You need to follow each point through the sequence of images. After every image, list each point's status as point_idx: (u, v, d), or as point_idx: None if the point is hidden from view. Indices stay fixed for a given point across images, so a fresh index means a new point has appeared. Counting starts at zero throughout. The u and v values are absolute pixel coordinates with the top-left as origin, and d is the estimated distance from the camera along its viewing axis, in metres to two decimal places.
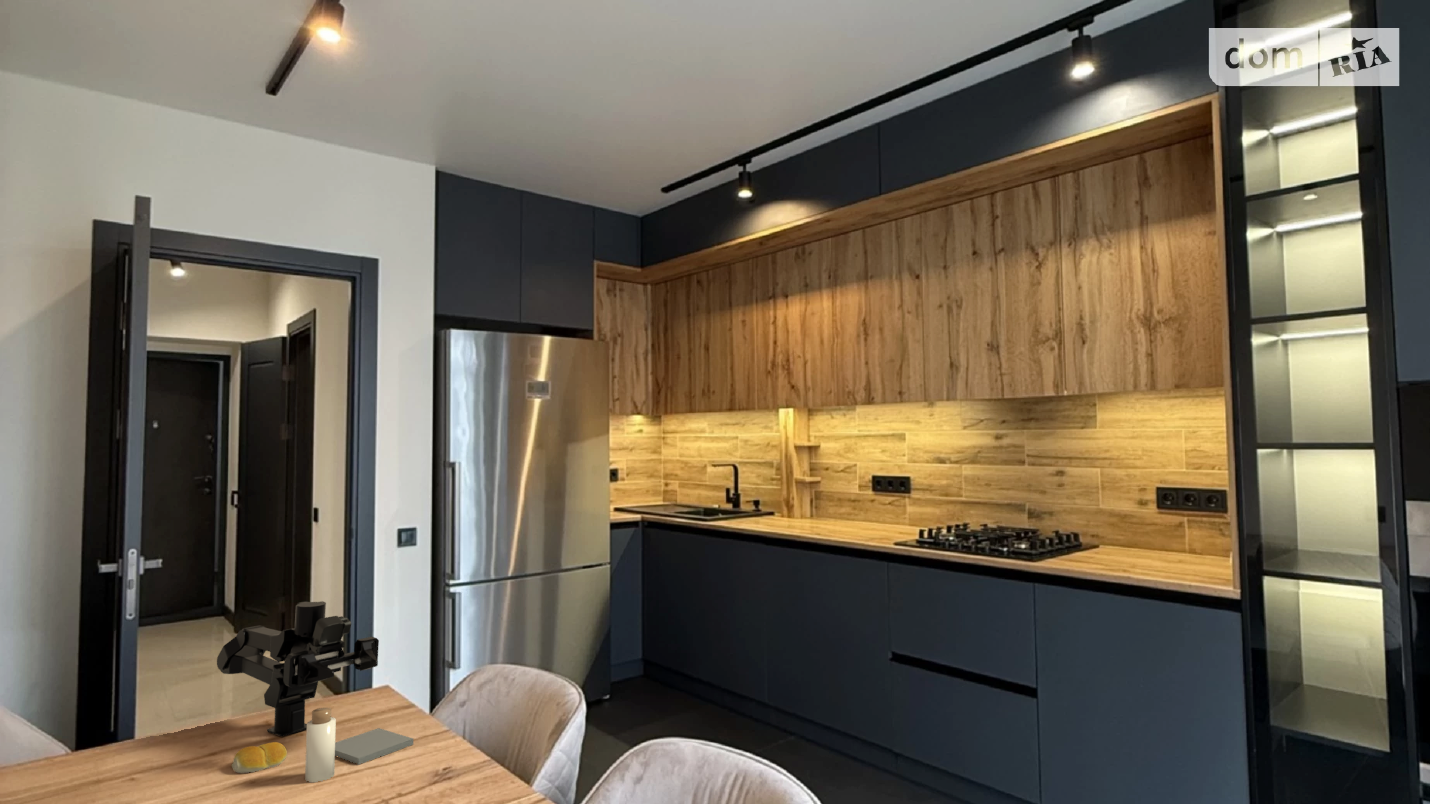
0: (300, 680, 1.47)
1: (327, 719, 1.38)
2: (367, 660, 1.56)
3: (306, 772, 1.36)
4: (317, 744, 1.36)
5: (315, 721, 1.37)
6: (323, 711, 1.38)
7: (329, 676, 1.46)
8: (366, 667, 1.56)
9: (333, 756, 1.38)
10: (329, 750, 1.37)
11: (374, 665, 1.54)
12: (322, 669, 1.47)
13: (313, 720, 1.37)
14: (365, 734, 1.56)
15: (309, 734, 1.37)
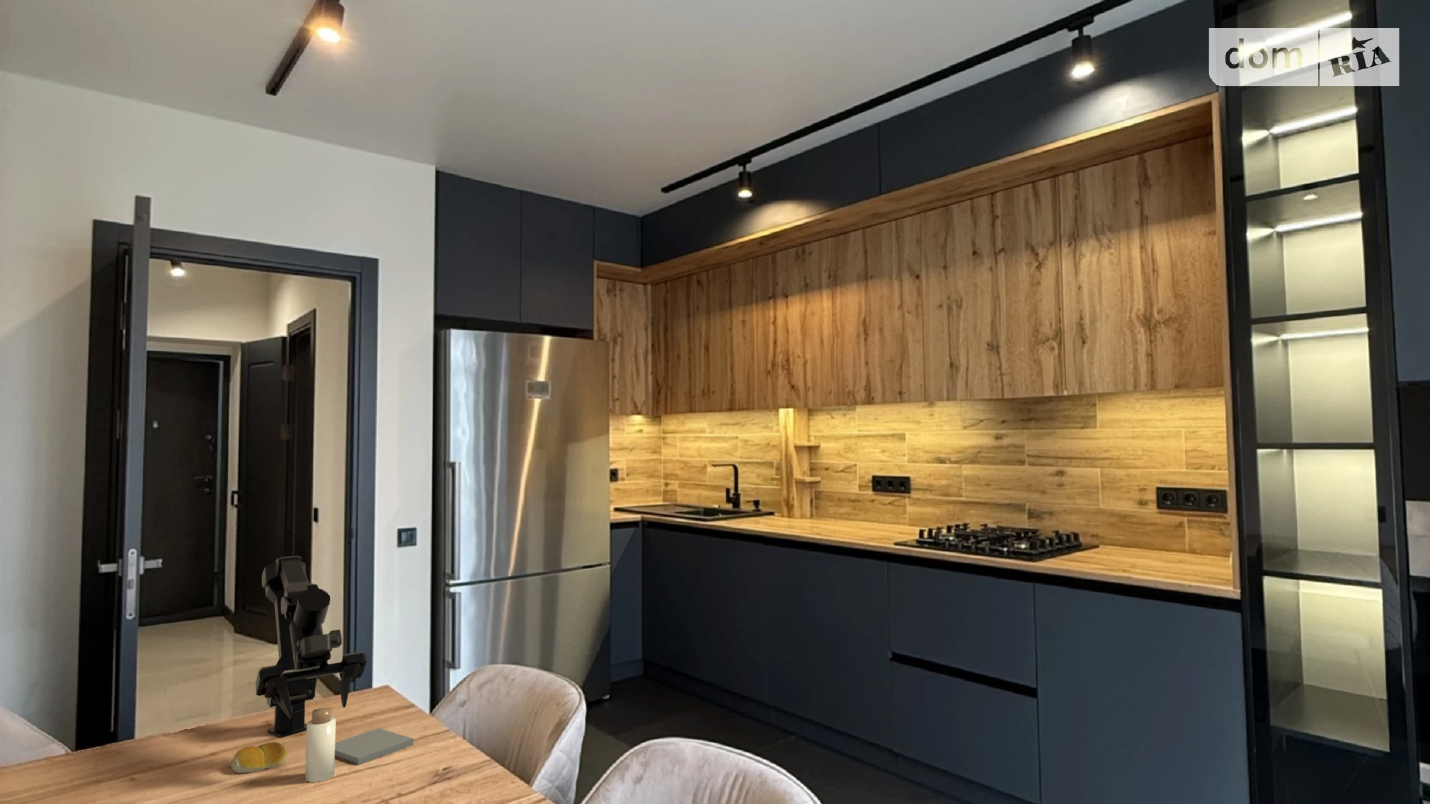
0: (267, 695, 1.41)
1: (327, 719, 1.38)
2: (342, 690, 1.46)
3: (306, 772, 1.36)
4: (317, 744, 1.36)
5: (315, 721, 1.37)
6: (323, 711, 1.38)
7: (288, 715, 1.39)
8: None
9: (333, 756, 1.38)
10: (329, 750, 1.37)
11: (342, 705, 1.44)
12: (284, 704, 1.39)
13: (313, 720, 1.37)
14: (365, 734, 1.56)
15: (309, 734, 1.37)
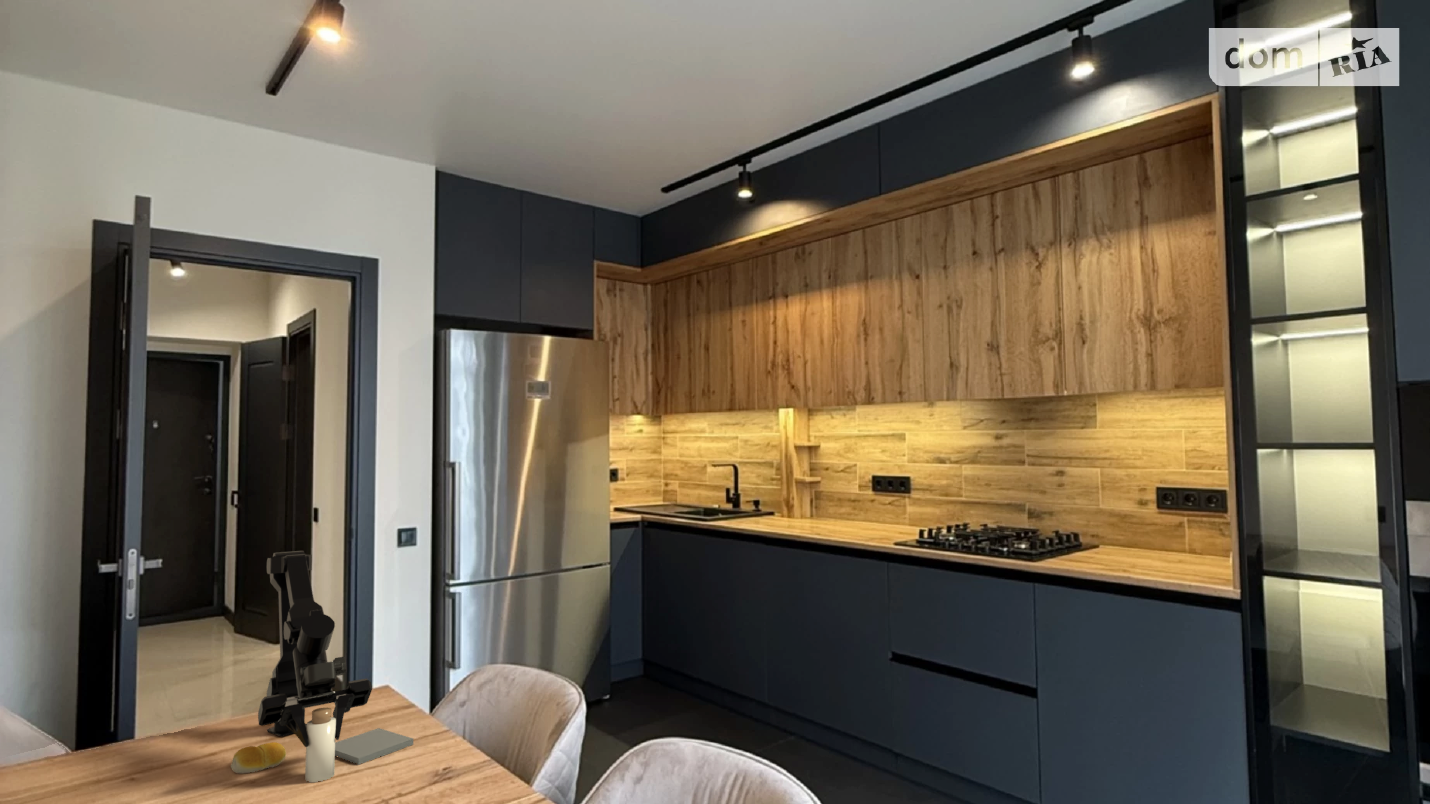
0: (283, 722, 1.39)
1: (327, 719, 1.38)
2: None
3: (306, 772, 1.36)
4: (317, 744, 1.36)
5: (315, 721, 1.37)
6: (323, 711, 1.38)
7: (304, 744, 1.36)
8: None
9: (333, 756, 1.38)
10: (329, 750, 1.37)
11: (335, 737, 1.39)
12: (300, 732, 1.36)
13: (313, 720, 1.37)
14: (365, 734, 1.56)
15: (309, 734, 1.37)
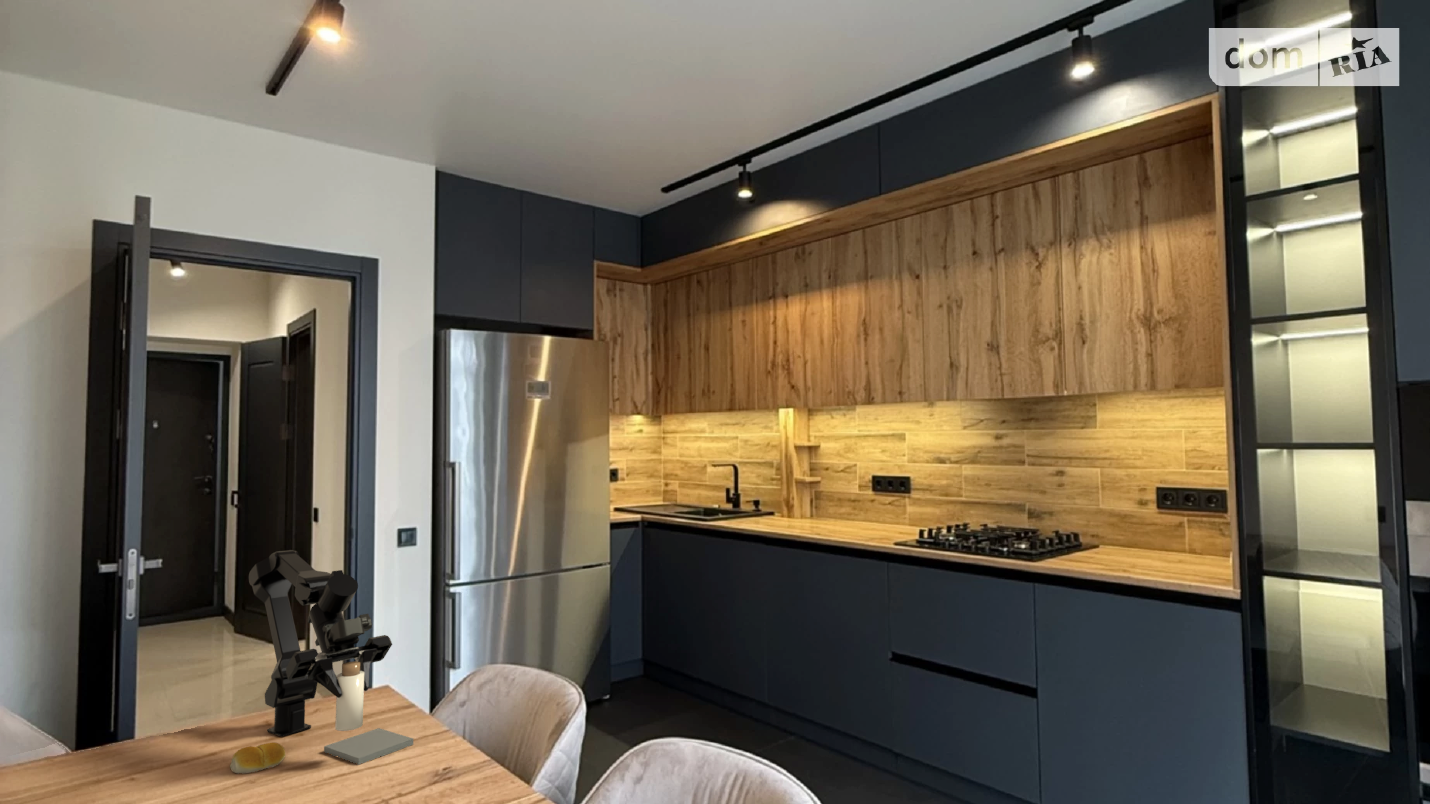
0: (311, 676, 1.44)
1: (357, 671, 1.46)
2: None
3: (338, 722, 1.43)
4: (350, 694, 1.44)
5: (347, 673, 1.44)
6: (353, 664, 1.45)
7: (336, 695, 1.43)
8: None
9: (362, 706, 1.46)
10: (360, 700, 1.45)
11: (364, 689, 1.47)
12: (333, 684, 1.43)
13: (344, 672, 1.44)
14: (365, 734, 1.56)
15: (341, 686, 1.43)
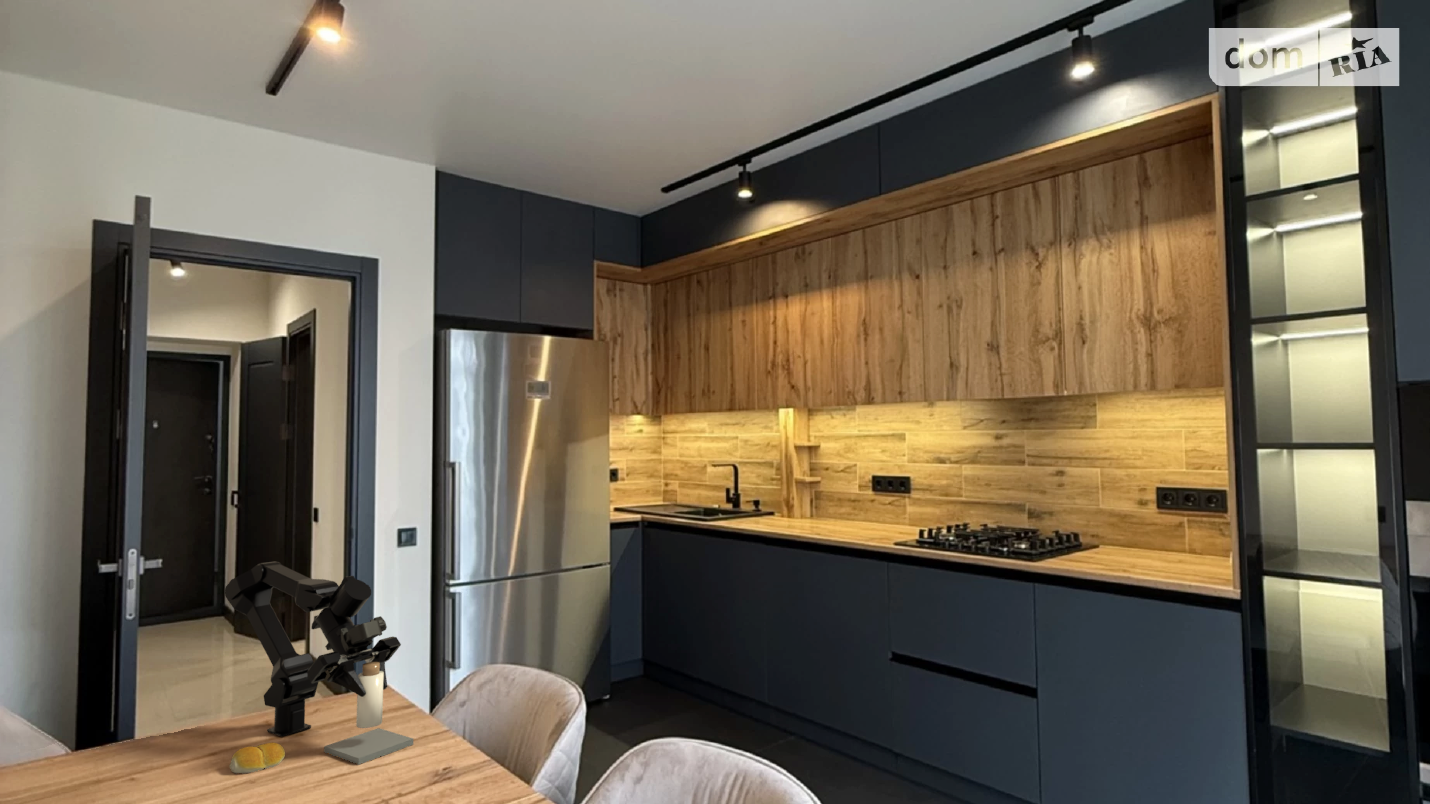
0: (331, 678, 1.50)
1: (378, 671, 1.53)
2: None
3: (361, 720, 1.50)
4: (373, 692, 1.51)
5: (369, 673, 1.51)
6: (375, 664, 1.52)
7: (360, 694, 1.50)
8: None
9: (382, 704, 1.53)
10: (381, 698, 1.52)
11: None
12: (356, 684, 1.50)
13: (366, 672, 1.51)
14: (365, 734, 1.56)
15: (364, 685, 1.50)
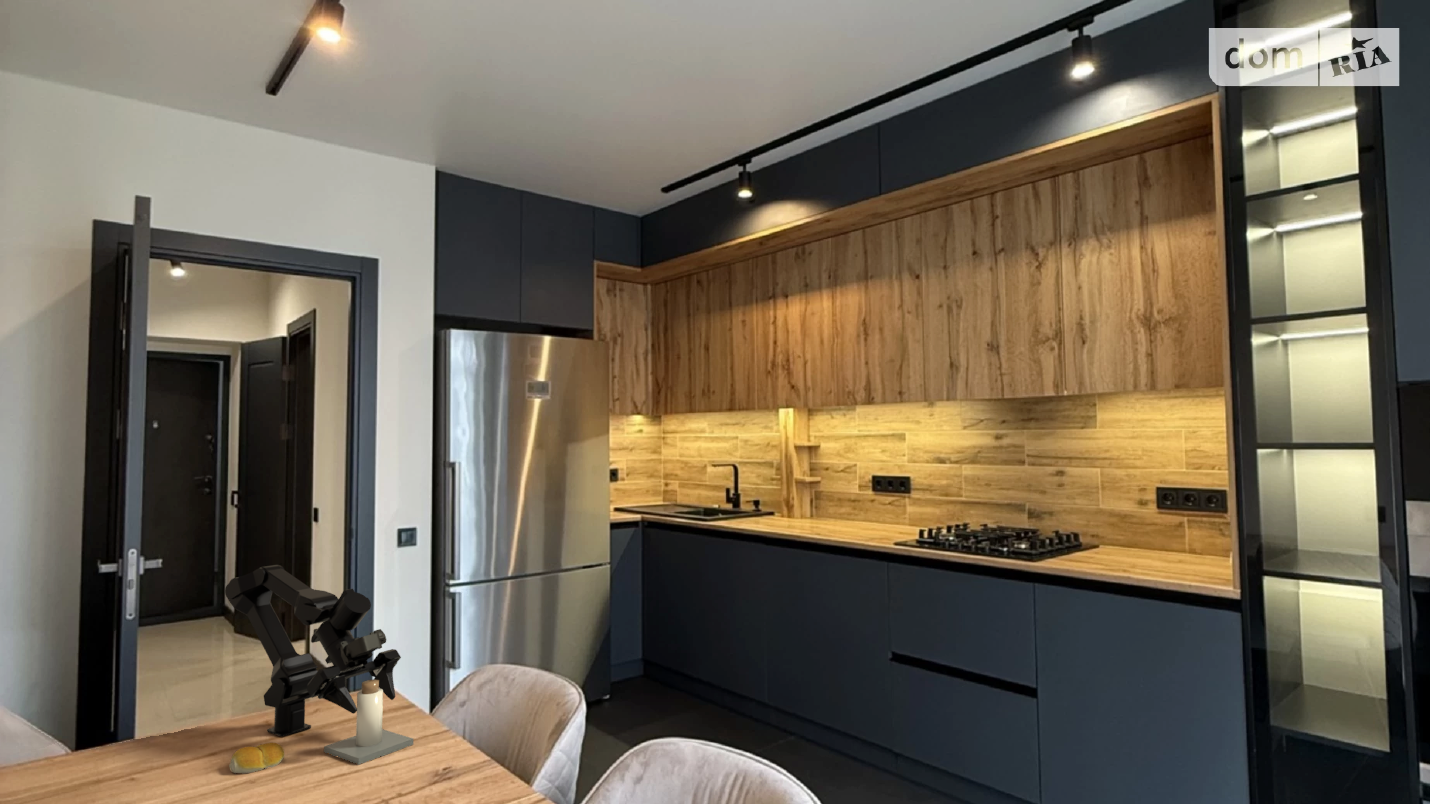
0: (322, 695, 1.48)
1: (377, 688, 1.53)
2: (385, 684, 1.57)
3: (360, 738, 1.50)
4: (373, 711, 1.50)
5: (368, 691, 1.51)
6: (374, 682, 1.52)
7: (351, 711, 1.48)
8: (381, 688, 1.58)
9: None
10: (381, 716, 1.52)
11: (390, 698, 1.56)
12: (347, 701, 1.47)
13: (366, 690, 1.51)
14: None
15: (363, 703, 1.50)
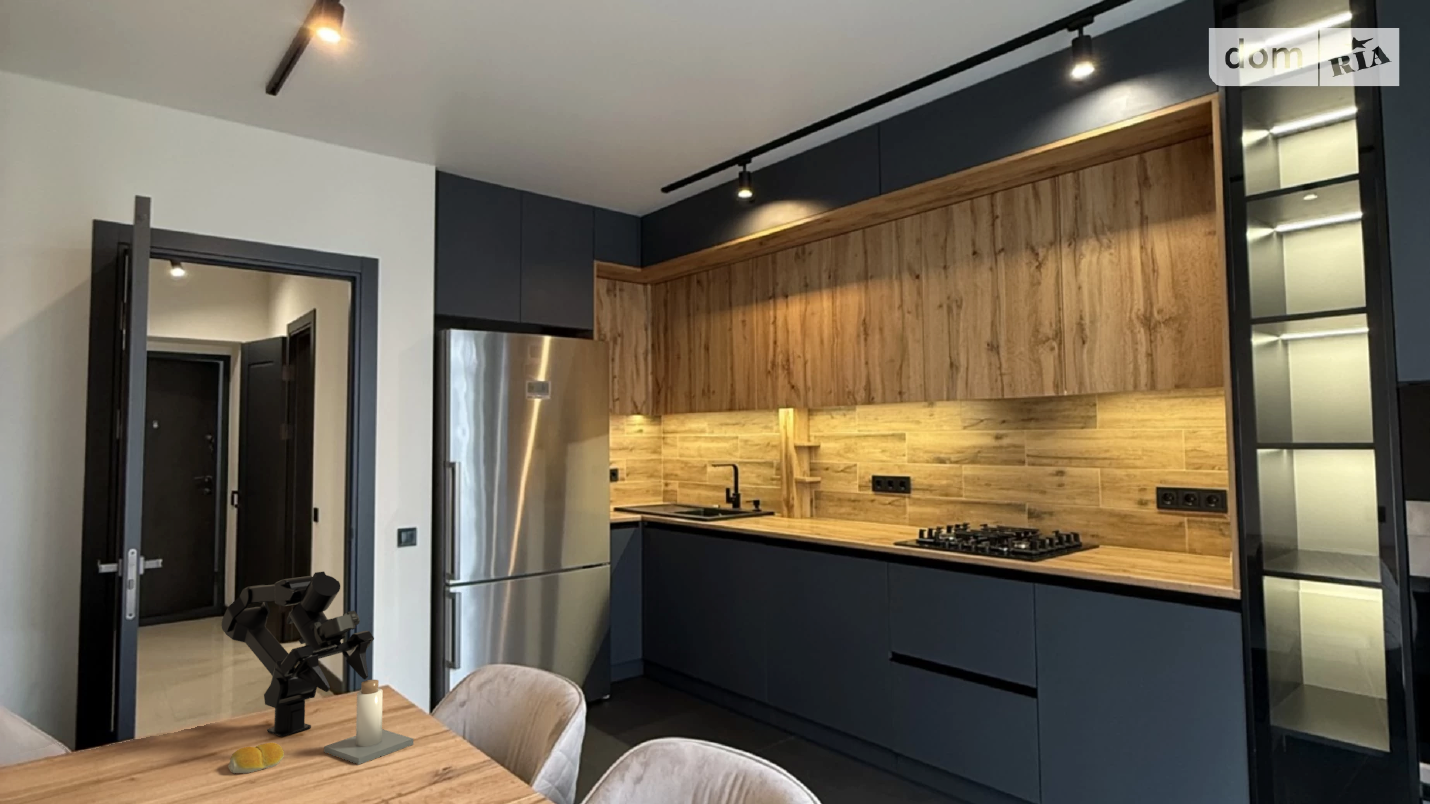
0: (296, 674, 1.51)
1: (377, 688, 1.53)
2: (359, 665, 1.60)
3: (360, 738, 1.50)
4: (373, 711, 1.50)
5: (368, 691, 1.51)
6: (373, 682, 1.52)
7: (324, 689, 1.51)
8: (354, 668, 1.61)
9: None
10: (381, 715, 1.52)
11: (363, 677, 1.59)
12: (321, 680, 1.51)
13: (365, 690, 1.51)
14: None
15: (363, 703, 1.50)
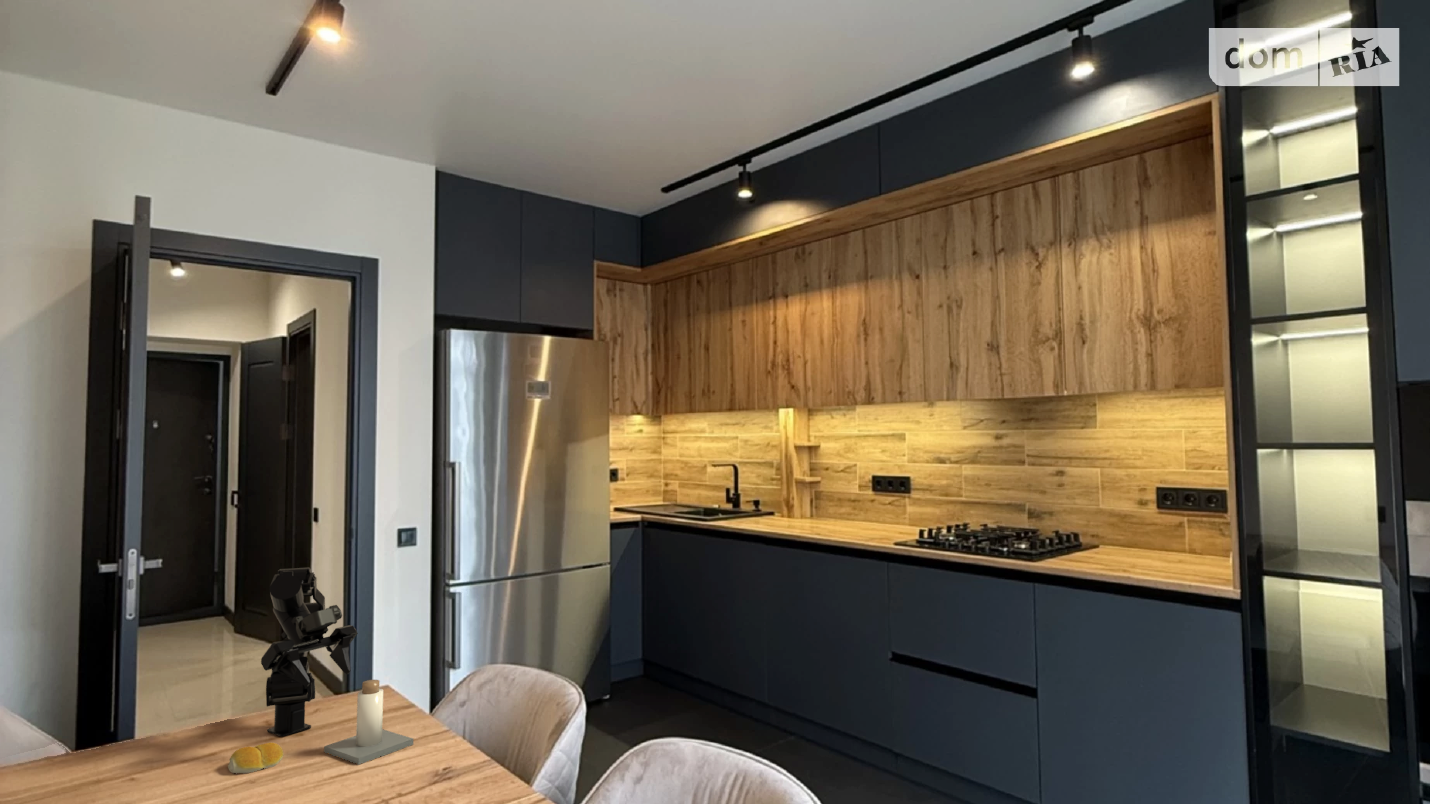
0: (276, 668, 1.50)
1: (378, 689, 1.53)
2: (341, 659, 1.60)
3: (360, 738, 1.50)
4: (373, 711, 1.50)
5: (368, 691, 1.51)
6: (374, 682, 1.52)
7: (304, 684, 1.50)
8: (337, 662, 1.60)
9: None
10: (381, 716, 1.52)
11: (345, 672, 1.58)
12: (301, 674, 1.50)
13: (366, 691, 1.51)
14: None
15: (364, 704, 1.50)
